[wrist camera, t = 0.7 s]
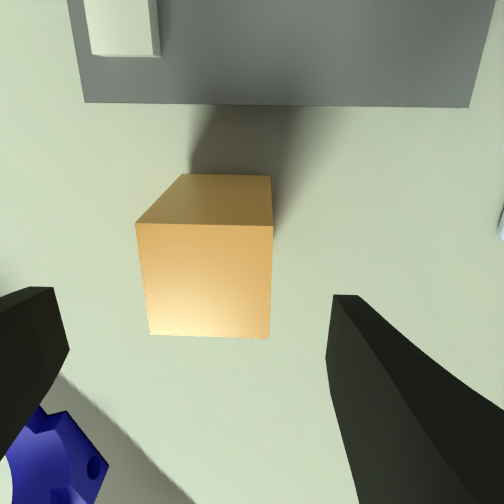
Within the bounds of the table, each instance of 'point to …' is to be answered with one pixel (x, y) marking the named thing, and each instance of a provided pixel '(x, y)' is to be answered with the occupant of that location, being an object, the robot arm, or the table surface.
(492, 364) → the table surface
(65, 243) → the table surface
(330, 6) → the socket plate
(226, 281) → the plug
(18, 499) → the cable clip
